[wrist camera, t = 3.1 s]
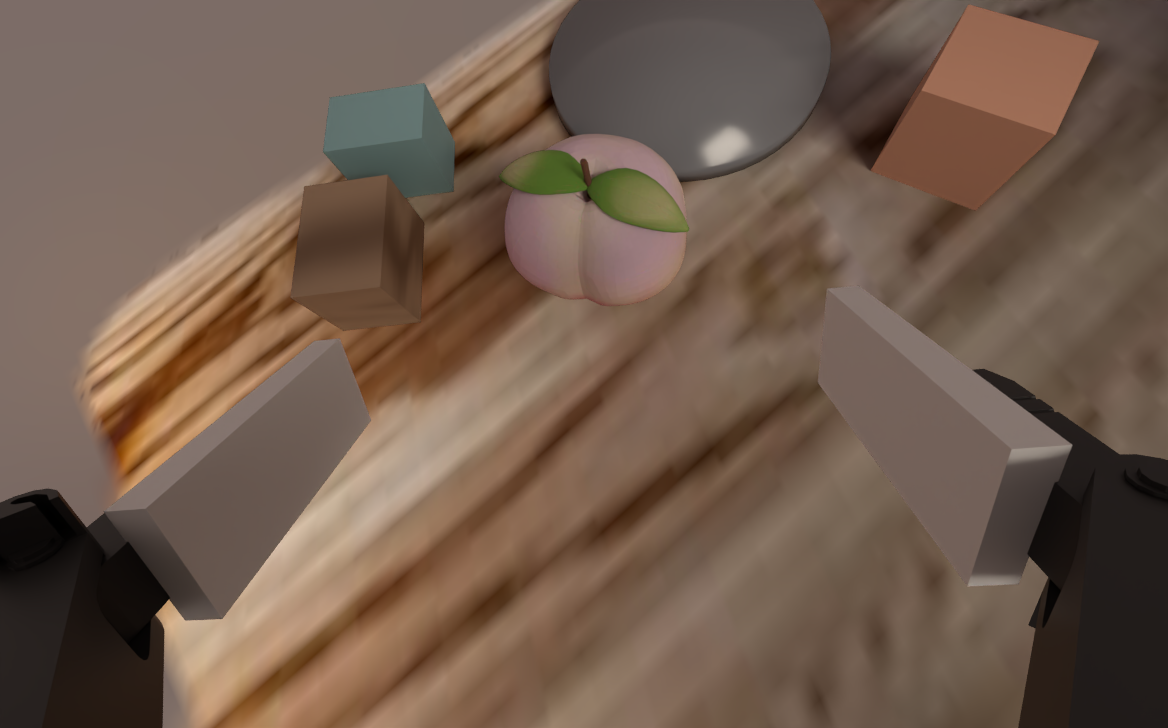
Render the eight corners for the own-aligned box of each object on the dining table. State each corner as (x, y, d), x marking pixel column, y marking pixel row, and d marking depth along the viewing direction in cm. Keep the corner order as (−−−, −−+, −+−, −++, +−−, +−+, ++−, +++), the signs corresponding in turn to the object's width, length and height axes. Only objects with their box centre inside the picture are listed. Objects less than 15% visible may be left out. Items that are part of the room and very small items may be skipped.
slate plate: (679, -66, 38) (680, -84, 36) (885, 52, 32) (893, 35, 31) (500, 82, 36) (495, 68, 34) (688, 234, 30) (690, 223, 29)
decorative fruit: (697, 221, 30) (718, 86, 21) (669, 346, 28) (679, 260, 19) (549, 199, 32) (507, 66, 23) (513, 316, 30) (451, 223, 21)
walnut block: (353, 233, 34) (304, 186, 29) (424, 224, 33) (387, 174, 28) (344, 331, 31) (290, 297, 27) (421, 322, 31) (380, 287, 26)
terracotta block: (910, 98, 31) (968, 4, 26) (1012, 133, 30) (1099, 41, 24) (869, 171, 30) (921, 90, 24) (974, 211, 29) (1055, 134, 23)
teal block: (455, 143, 35) (424, 83, 30) (453, 192, 33) (421, 138, 29) (372, 154, 35) (329, 97, 31) (368, 203, 34) (323, 151, 29)
